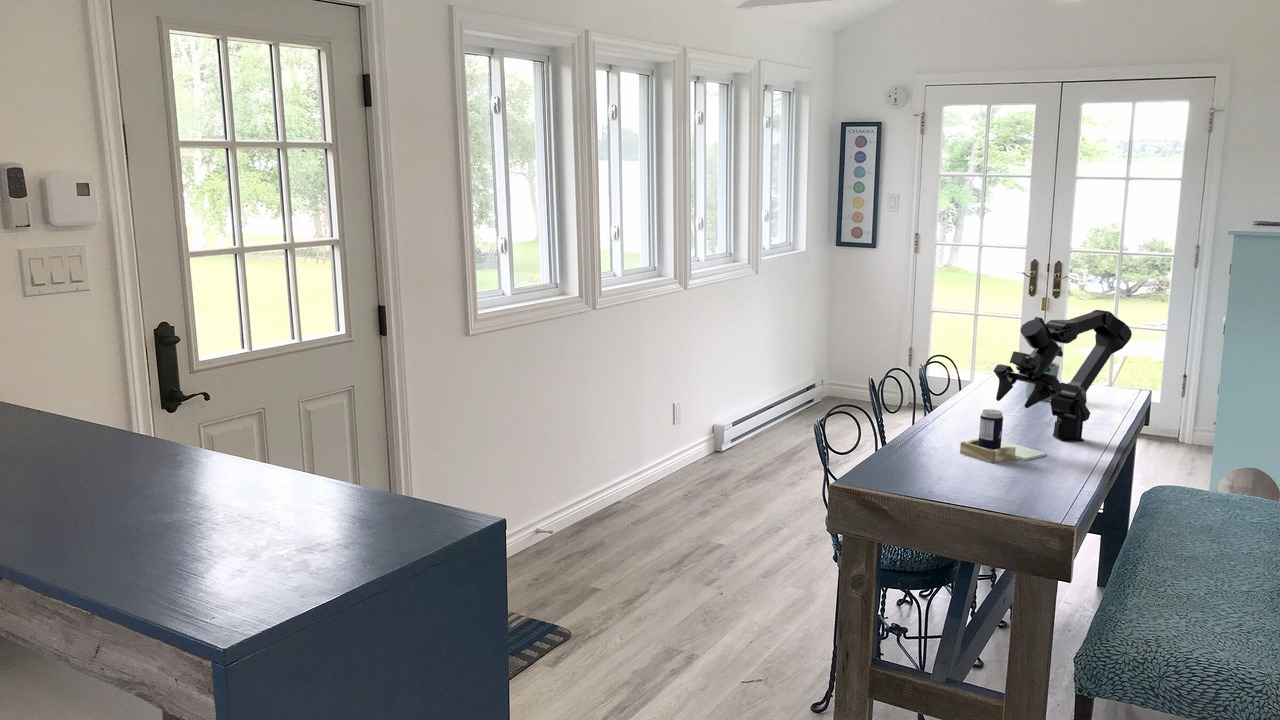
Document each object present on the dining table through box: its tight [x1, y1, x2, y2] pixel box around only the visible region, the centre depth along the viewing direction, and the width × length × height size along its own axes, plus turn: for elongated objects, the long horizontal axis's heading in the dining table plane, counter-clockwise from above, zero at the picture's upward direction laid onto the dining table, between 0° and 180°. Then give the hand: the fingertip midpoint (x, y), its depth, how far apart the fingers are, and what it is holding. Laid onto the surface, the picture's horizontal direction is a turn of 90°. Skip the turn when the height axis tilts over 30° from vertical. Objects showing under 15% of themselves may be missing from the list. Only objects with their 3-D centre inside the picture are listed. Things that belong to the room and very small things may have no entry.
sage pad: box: [1001, 440, 1048, 461], centre depth 267 cm, size 9×16×1 cm, turn 32°
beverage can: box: [978, 409, 1004, 450], centre depth 261 cm, size 6×6×12 cm
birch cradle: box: [959, 438, 1016, 463], centre depth 261 cm, size 9×10×3 cm
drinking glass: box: [1025, 362, 1060, 402], centre depth 329 cm, size 10×10×12 cm
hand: (1011, 403), depth 264 cm, fingers open, 9 cm apart
